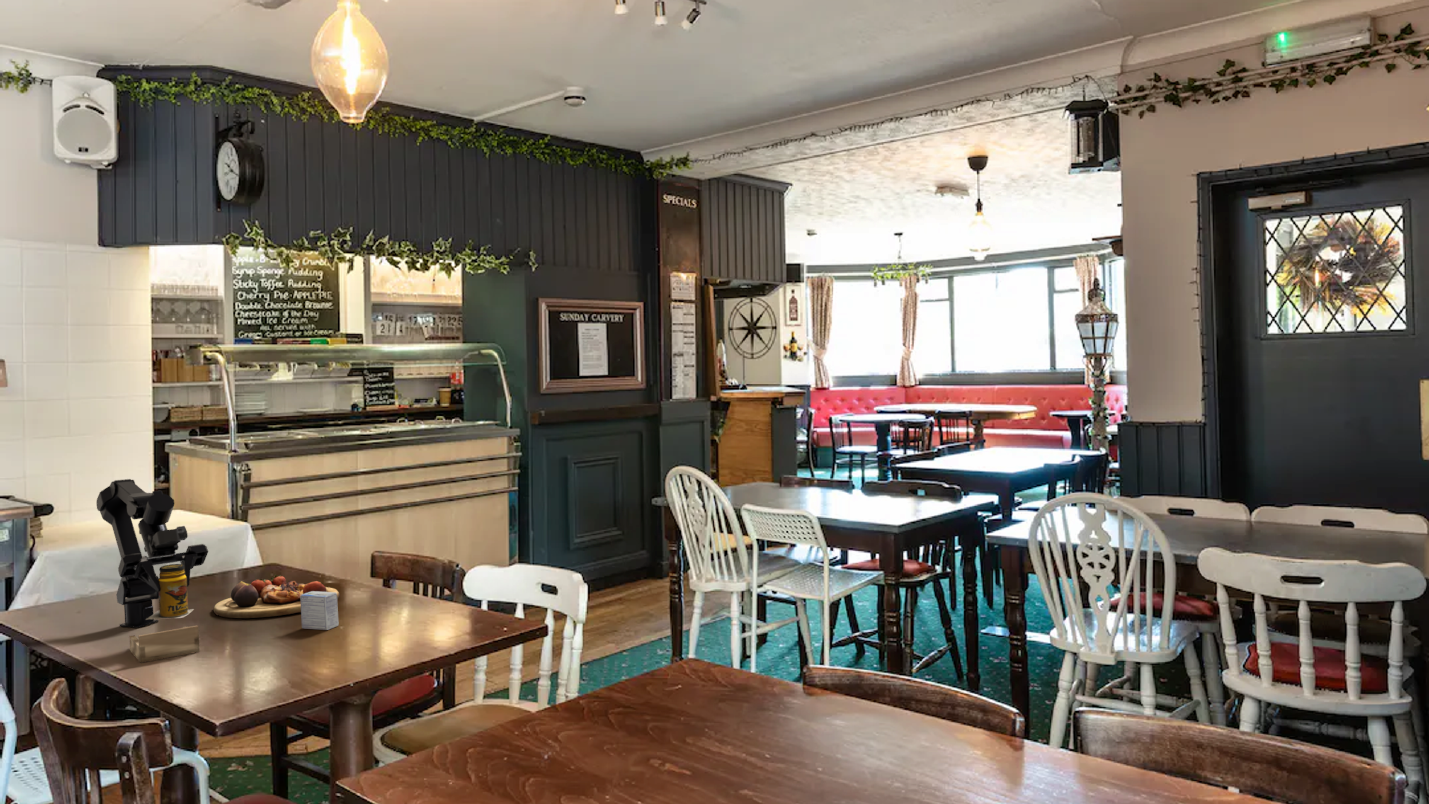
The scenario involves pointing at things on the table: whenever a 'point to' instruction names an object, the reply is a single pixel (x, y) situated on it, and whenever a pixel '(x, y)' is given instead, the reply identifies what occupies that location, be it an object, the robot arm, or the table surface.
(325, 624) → the medicine box
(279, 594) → the wooden plate with food
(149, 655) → the drawer
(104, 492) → the robot arm
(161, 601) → the condiment
